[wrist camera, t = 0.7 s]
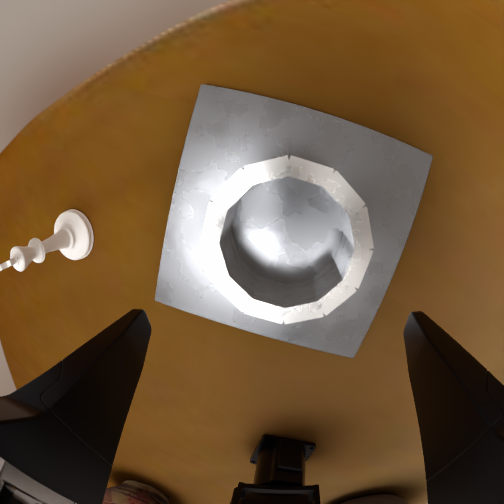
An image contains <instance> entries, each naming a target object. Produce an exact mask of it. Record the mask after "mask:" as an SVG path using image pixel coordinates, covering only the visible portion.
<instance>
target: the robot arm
mask: <svg viewBox="0 0 504 504" xmlns="http://www.w3.org/2000/svg"><path fill="white" fill-rule="evenodd" d="M150 335H151V325H150V322H149V320H148V317H147V315H146V312H145V311H144V310H142V309H133V310H131V311H130V312H128V313H127V314H125V315H124V316H122V317H121V318H120V319H118V320H117V321H115V322H114V323H113V324H111V325H110V326H108V327H107V328H106V329H104V330H103V331H102V332H100V333H99V334H97V335H96V336H95V337H93V338H92V339H90V340H89V341H88V342H86V343H85V344H84V345H82V346H81V347H79V348H78V349H77V350H75V351H74V352H72V353H71V354H70V355H68V356H67V357H66V358H64V359H63V361H60V362H59V363H57V364H56V365H55V366H53V367H52V368H50V369H49V370H48V371H46V372H45V373H43V374H42V375H40V376H39V377H37V378H36V379H34V380H32V381H31V382H29V383H27V384H26V385H24V386H23V387H21V388H19V389H18V390H16V391H15V392H13V393H11V394H9V395H6V396H2V397H0V504H75V503H77V504H102V503H103V499H104V495H105V491H106V487H107V484H108V480H109V476H110V472H111V469H112V465H113V461H114V457H115V454H116V450H117V447H118V444H119V440H120V437H121V434H122V430H123V427H124V424H125V421H126V417H127V414H128V411H129V408H130V405H131V402H132V399H133V396H134V393H135V390H136V387H137V384H138V381H139V378H140V375H141V372H142V369H143V365H144V361H145V356H146V352H147V348H148V344H149V339H150ZM404 341H405V348H406V355H407V363H408V371H409V377H410V382H411V387H412V391H413V396H414V401H415V406H416V411H417V417H418V423H419V428H420V435H421V441H422V448H423V455H424V463H425V472H426V481H427V482H426V483H427V495H428V504H504V385H503V384H502V383H501V382H500V381H498V380H497V379H496V378H495V377H494V376H493V375H492V374H491V373H490V372H489V371H487V369H486V368H485V367H484V366H483V365H481V364H480V363H479V362H478V361H477V360H476V359H475V358H474V357H473V356H472V355H471V354H470V353H469V352H467V351H466V350H465V349H464V348H463V347H462V346H461V345H460V344H459V343H458V342H456V341H455V340H454V339H453V338H452V337H451V336H450V335H449V334H447V333H446V332H445V331H444V330H443V329H442V328H441V327H440V326H438V325H437V324H436V323H435V322H434V321H433V320H431V319H430V318H429V317H428V316H427V315H426V314H424V313H423V312H421V311H417V312H411V313H410V314H409V317H408V320H407V323H406V326H405V329H404ZM315 449H316V445H315V444H313V443H307V442H301V441H296V440H290V439H285V438H280V437H275V436H271V435H263V437H262V438H261V440H260V442H259V444H258V446H257V447H256V449H255V451H254V453H253V455H252V456H251V458H250V463H252V464H256V471H255V477H254V483H253V484H246V483H243V482H239V484H238V487H236V488H234V492H233V496H232V500H231V502H230V504H320V494H319V485H309V486H305V462H306V460H307V459H308V458H309V457H310V455H311V454H312V453H313V451H314V450H315Z"/></svg>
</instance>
